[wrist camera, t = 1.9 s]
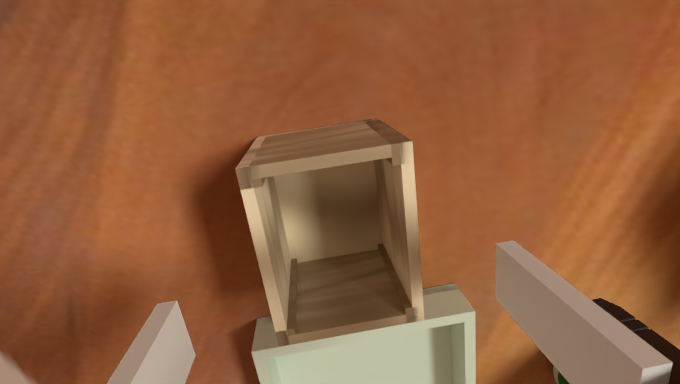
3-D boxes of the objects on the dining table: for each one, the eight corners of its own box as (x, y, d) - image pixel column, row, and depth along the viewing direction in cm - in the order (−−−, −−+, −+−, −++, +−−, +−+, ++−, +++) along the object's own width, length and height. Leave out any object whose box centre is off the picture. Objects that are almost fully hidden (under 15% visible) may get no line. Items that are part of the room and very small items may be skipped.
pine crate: (257, 136, 23) (235, 169, 15) (377, 118, 23) (412, 141, 16) (285, 268, 26) (278, 346, 19) (390, 250, 27) (424, 320, 19)
